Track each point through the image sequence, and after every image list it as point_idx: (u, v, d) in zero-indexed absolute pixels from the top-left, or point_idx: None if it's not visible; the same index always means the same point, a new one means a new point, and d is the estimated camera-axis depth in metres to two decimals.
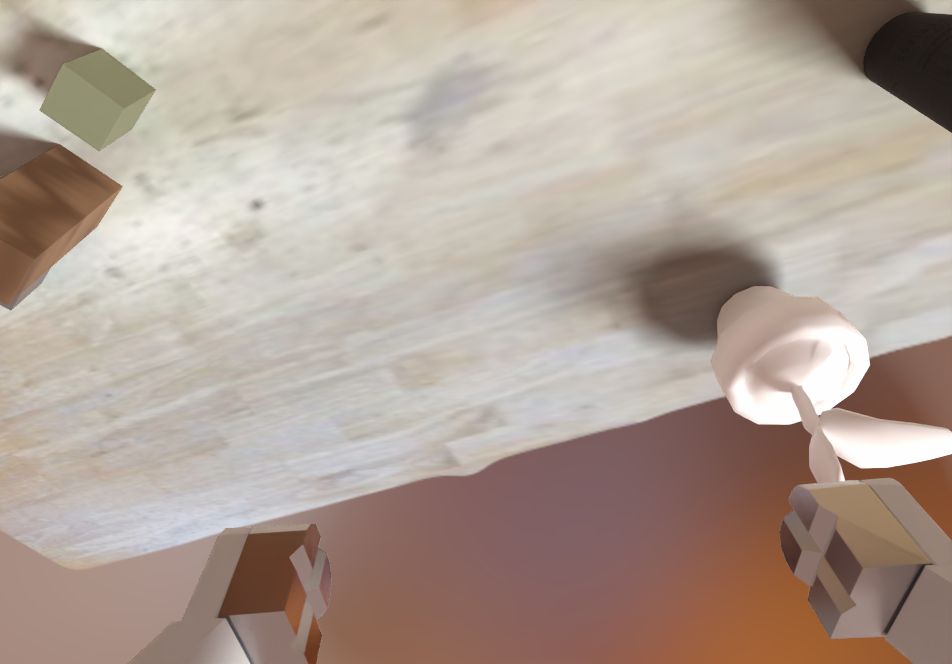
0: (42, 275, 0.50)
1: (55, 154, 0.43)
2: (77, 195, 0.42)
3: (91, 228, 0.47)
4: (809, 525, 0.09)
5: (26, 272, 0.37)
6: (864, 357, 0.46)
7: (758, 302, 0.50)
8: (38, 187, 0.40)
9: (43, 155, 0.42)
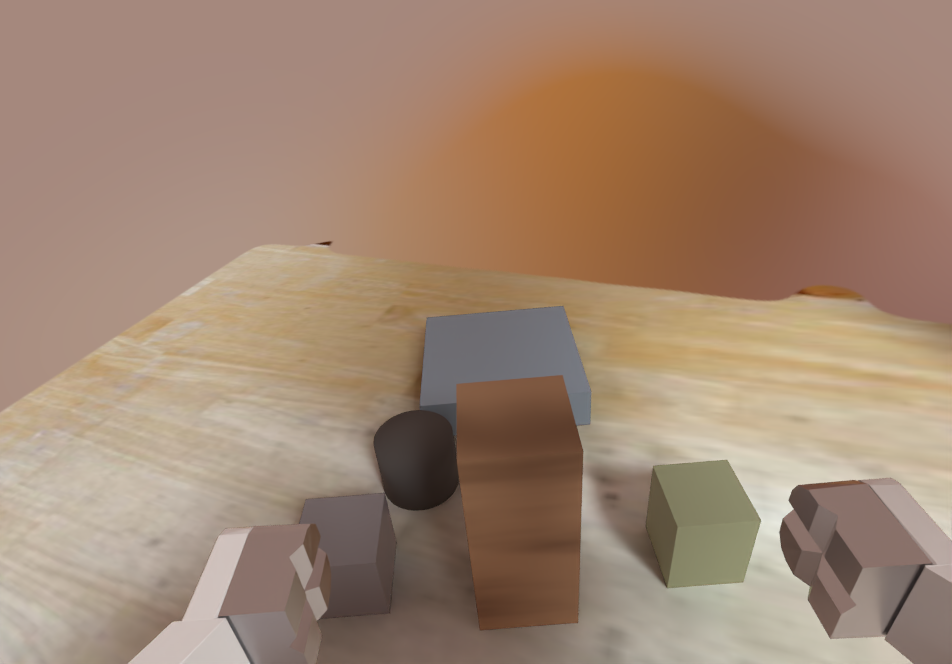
0: (343, 603, 0.29)
1: None
2: None
3: (495, 610, 0.28)
4: (809, 525, 0.09)
5: (546, 454, 0.22)
6: None
7: None
8: None
9: None
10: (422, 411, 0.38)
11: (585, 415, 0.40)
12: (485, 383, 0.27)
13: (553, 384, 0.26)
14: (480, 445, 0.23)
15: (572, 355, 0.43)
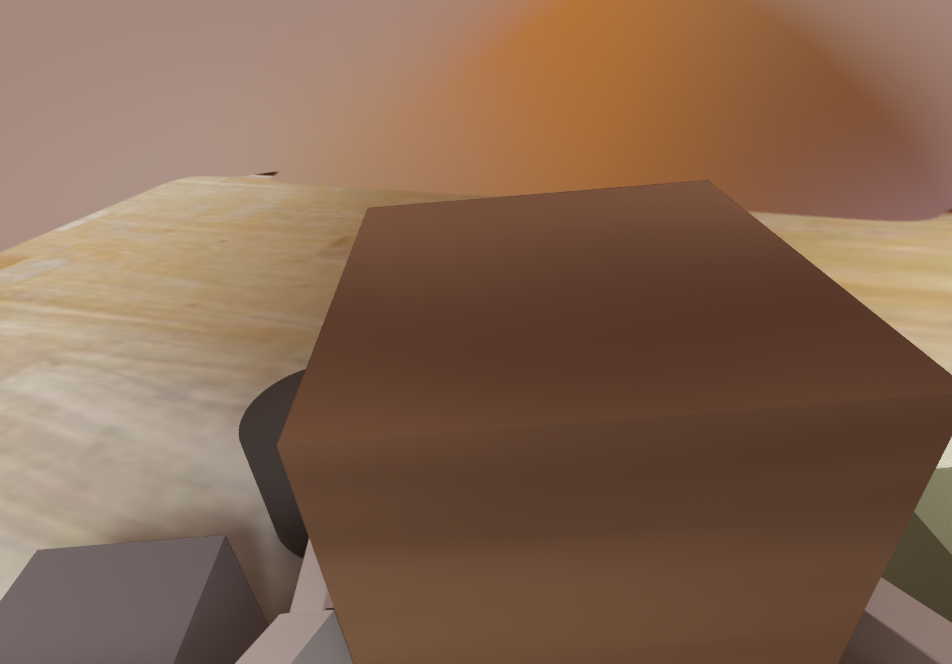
0: None
1: None
2: None
3: None
4: None
5: (767, 412, 0.04)
6: None
7: None
8: None
9: None
10: None
11: None
12: (459, 207, 0.08)
13: (685, 197, 0.08)
14: (416, 371, 0.05)
15: None
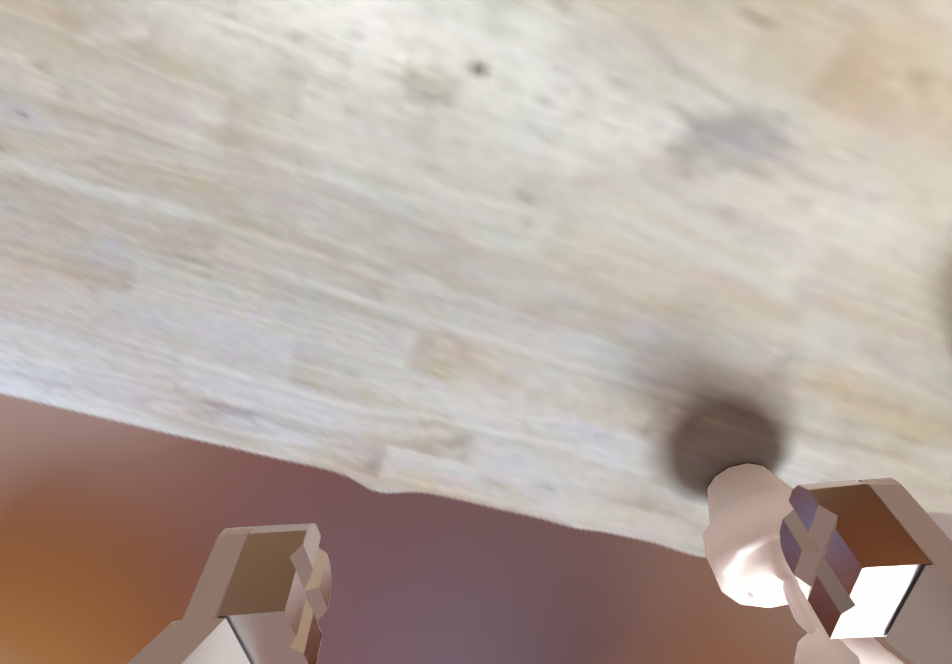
0: None
1: None
2: None
3: None
4: (809, 525, 0.09)
5: None
6: None
7: (778, 484, 0.52)
8: None
9: None
10: None
11: None
12: None
13: None
14: None
15: None
